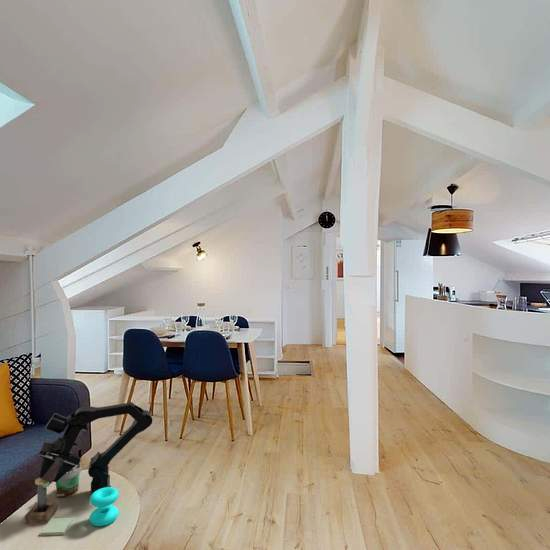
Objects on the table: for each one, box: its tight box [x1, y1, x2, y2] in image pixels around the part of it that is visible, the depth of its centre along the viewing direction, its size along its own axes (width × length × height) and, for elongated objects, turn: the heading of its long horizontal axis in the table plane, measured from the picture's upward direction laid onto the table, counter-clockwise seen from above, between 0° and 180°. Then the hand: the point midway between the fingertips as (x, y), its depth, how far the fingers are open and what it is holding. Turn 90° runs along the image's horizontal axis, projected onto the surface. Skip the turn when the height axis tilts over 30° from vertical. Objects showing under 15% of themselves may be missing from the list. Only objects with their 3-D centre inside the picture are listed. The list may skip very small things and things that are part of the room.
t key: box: [34, 477, 50, 512], centre depth 146 cm, size 6×3×14 cm, turn 64°
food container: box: [54, 463, 82, 499], centre depth 162 cm, size 12×6×10 cm, turn 168°
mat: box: [39, 517, 75, 537], centre depth 140 cm, size 8×8×1 cm
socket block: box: [24, 501, 59, 525], centre depth 146 cm, size 8×8×3 cm
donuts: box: [89, 486, 120, 527], centre depth 145 cm, size 10×10×10 cm
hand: (47, 479), depth 149 cm, fingers open, 9 cm apart
